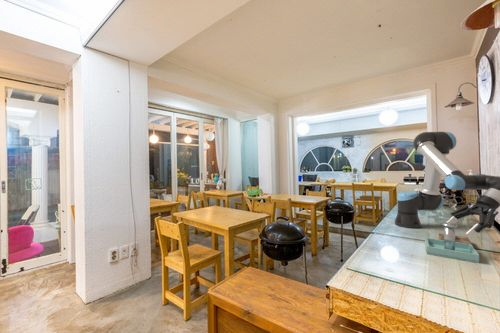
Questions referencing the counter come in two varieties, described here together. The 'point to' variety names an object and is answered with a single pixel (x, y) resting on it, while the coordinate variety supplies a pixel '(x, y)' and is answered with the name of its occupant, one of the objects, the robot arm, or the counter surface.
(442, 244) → the tray
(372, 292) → the counter surface
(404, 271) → the counter surface
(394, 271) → the counter surface
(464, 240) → the holder
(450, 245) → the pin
